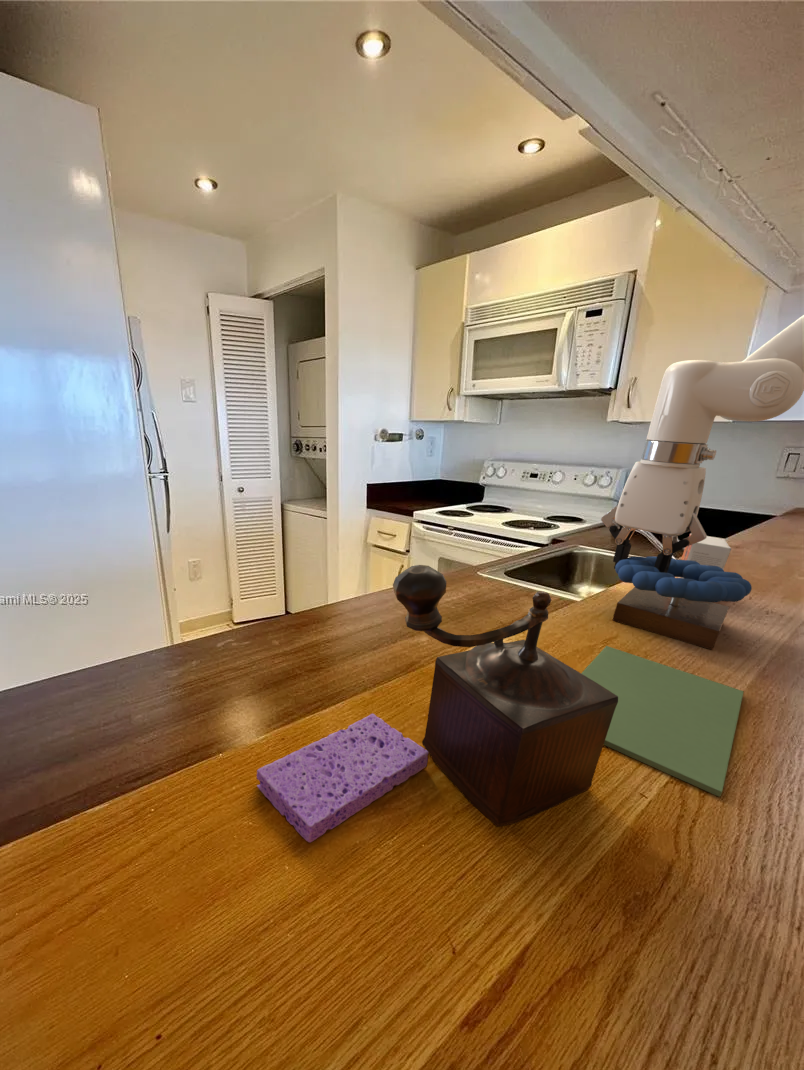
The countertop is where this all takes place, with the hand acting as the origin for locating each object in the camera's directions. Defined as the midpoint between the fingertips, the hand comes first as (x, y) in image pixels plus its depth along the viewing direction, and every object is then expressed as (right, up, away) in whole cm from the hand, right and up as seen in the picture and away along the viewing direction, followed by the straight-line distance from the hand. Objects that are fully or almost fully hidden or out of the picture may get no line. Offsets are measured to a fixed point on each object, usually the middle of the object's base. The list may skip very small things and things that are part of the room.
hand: (637, 571), depth 76 cm
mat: (-13, -16, -24) cm, 32 cm away
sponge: (-47, -19, -37) cm, 63 cm away
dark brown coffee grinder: (-35, -20, -36) cm, 54 cm away
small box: (+16, -4, +11) cm, 20 cm away
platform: (+4, -8, -2) cm, 9 cm away
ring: (+4, -2, -4) cm, 6 cm away
